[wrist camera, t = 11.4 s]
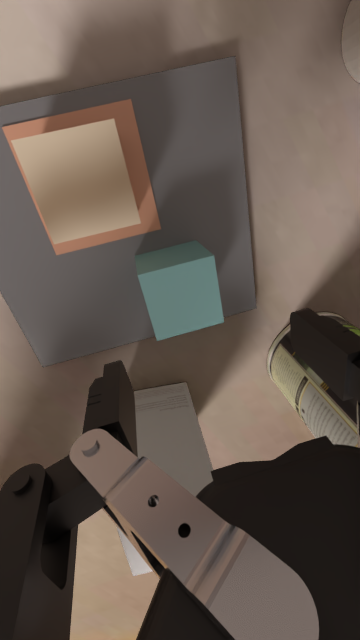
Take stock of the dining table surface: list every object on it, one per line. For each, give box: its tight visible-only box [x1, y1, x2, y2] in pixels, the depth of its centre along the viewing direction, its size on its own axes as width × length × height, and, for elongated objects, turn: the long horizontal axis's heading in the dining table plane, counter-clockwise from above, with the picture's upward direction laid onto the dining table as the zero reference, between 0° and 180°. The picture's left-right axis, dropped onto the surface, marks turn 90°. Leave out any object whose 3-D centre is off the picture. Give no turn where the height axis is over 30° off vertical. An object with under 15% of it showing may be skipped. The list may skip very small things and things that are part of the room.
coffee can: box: [267, 312, 360, 447], centre depth 25 cm, size 10×10×14 cm
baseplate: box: [0, 56, 256, 367], centre depth 21 cm, size 20×18×1 cm
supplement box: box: [117, 382, 213, 576], centre depth 25 cm, size 7×7×13 cm
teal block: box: [135, 240, 224, 341], centre depth 21 cm, size 5×5×5 cm
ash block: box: [11, 119, 141, 244], centre depth 17 cm, size 5×5×5 cm
